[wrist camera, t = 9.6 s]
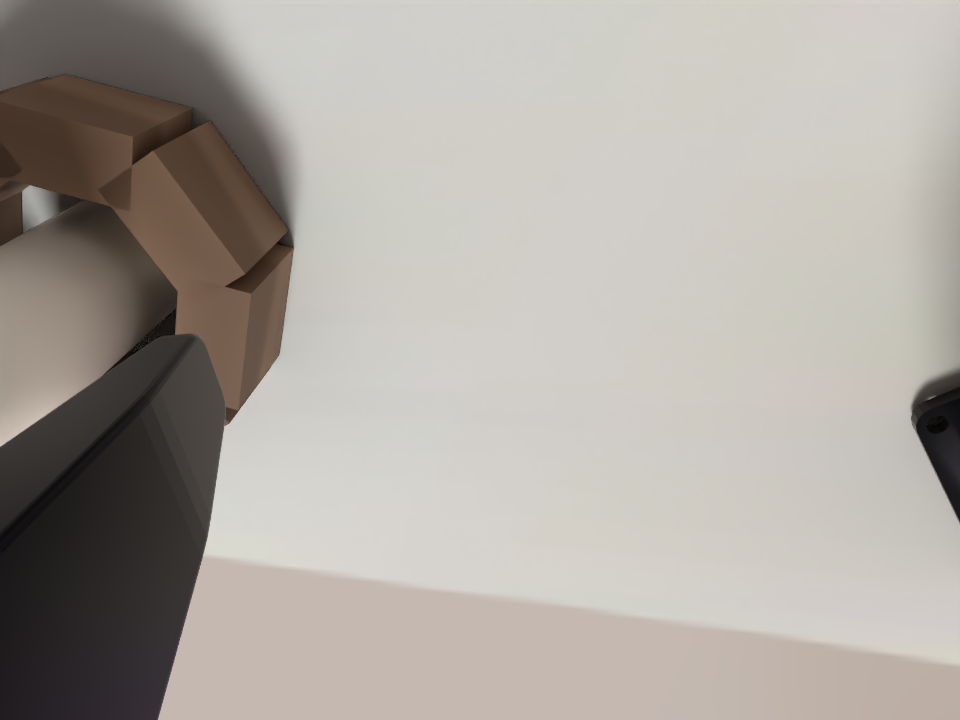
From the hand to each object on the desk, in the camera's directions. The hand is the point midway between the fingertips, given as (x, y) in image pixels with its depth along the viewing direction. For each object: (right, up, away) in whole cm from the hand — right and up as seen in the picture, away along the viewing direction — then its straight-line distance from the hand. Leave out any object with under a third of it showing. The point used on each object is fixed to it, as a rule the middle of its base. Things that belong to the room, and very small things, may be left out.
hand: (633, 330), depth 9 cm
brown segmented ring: (-11, +2, +14) cm, 18 cm away
